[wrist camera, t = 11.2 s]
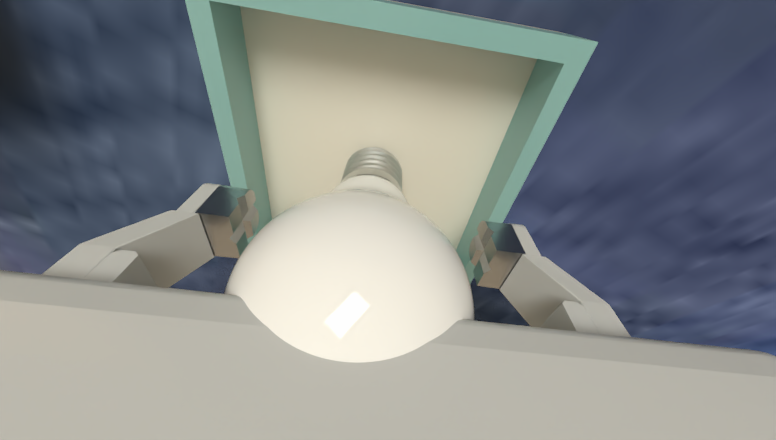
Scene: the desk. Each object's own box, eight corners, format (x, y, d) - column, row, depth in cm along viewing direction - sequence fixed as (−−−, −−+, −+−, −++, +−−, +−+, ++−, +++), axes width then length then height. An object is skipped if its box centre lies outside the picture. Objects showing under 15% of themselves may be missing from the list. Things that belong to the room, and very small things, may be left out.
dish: (560, 32, 11) (598, 42, 9) (460, 256, 18) (467, 288, 16) (221, -32, 10) (175, -37, 8) (267, 232, 18) (250, 263, 16)
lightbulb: (333, 223, 16) (259, 481, 8) (287, 114, 12) (34, 398, 4) (444, 208, 15) (498, 486, 7) (433, 84, 11) (529, 378, 3)
